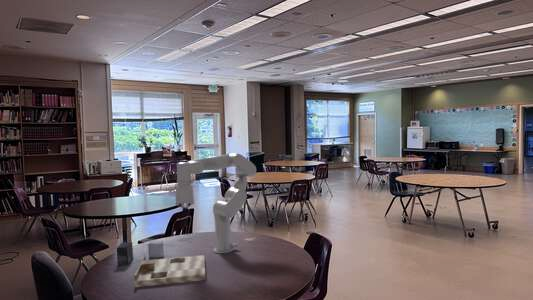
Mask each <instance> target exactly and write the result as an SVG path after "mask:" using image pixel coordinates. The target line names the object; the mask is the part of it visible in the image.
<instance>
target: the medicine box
mask: <svg viewBox="0 0 533 300" xmlns="http://www.w3.org/2000/svg"><path fill="white" fill-rule="evenodd" d="M147 249H148V258H162V257H164V255H165V254H164V242H163V241H150V242H149V243H147Z"/></svg>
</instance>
